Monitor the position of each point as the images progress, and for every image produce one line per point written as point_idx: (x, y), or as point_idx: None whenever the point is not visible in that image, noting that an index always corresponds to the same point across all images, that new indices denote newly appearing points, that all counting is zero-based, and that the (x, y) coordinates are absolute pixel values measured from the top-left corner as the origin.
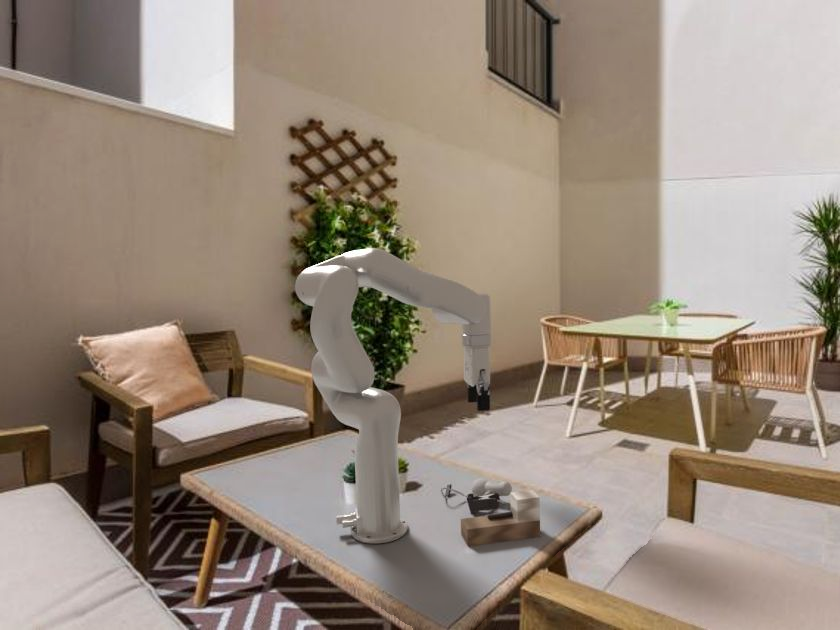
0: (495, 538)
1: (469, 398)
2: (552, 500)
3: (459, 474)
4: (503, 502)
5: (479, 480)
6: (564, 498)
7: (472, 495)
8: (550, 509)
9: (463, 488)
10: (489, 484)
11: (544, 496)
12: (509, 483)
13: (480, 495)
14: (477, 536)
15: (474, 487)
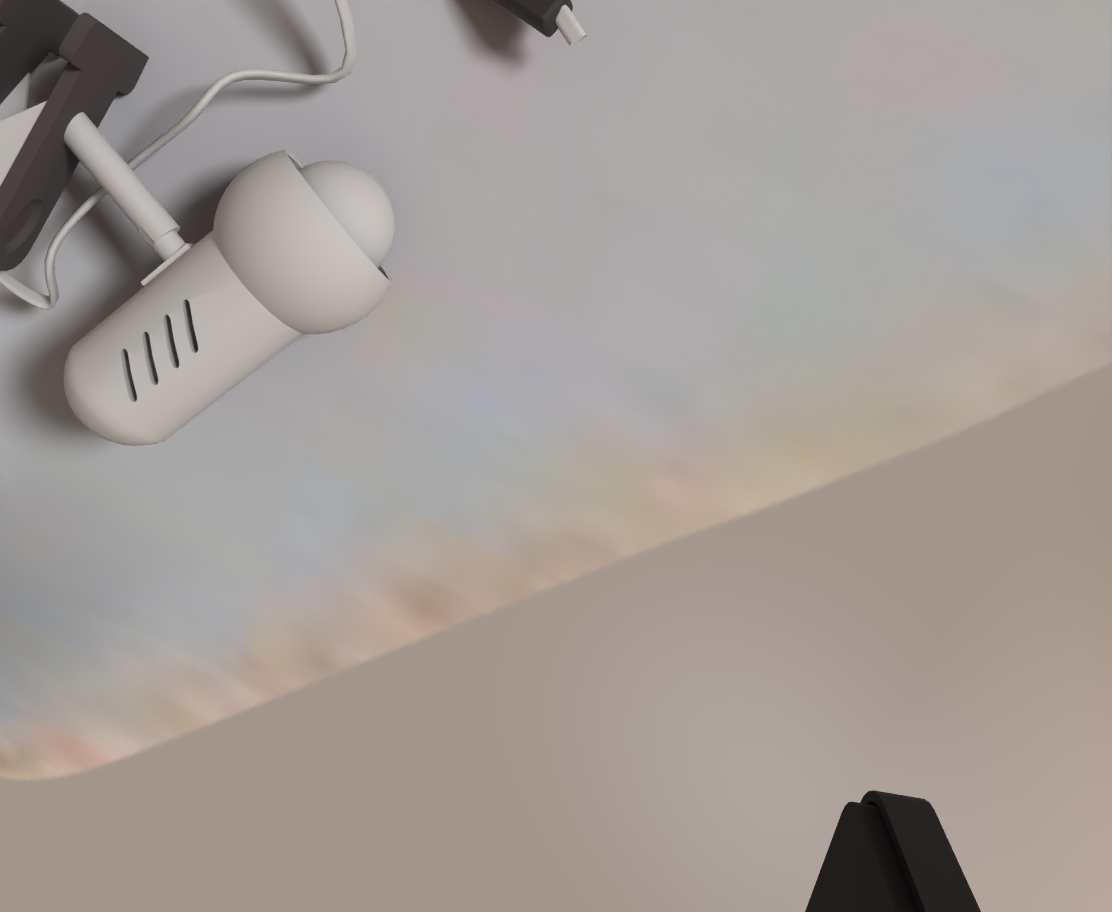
0: None
1: (868, 887)
2: (159, 652)
3: (901, 278)
4: (13, 289)
5: (270, 234)
6: (168, 726)
7: (64, 53)
8: (31, 572)
9: (586, 176)
10: (187, 288)
11: (232, 642)
12: (104, 436)
13: (46, 125)
14: None
15: (265, 164)
